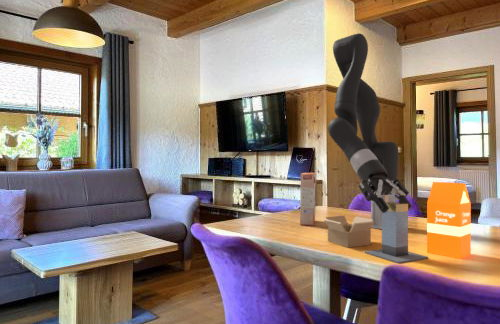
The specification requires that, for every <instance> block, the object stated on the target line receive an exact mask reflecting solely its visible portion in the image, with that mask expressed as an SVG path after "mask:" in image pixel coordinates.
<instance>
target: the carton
mask: <svg viewBox="0 0 500 324" xmlns="http://www.w3.org/2000/svg"><path fill="white" fill-rule="evenodd" d="M323 221H324V223H325V224H326V226H327V242H328V241H329V243H332V244H335V245H338V246H342V247H345V248H347V247H348V248H355V246H356V247H362V245H363V246H370V245H371V244H372V243H371V242H372V241H371V240H372V239H371V237H372V234H371V233H372V231H371V228H373V227H372V225H373V223H374V220H372V219H371V218H366V217H362V216H361V217H360V216H355V217H354V218H353V220H352V222H351V224H350V225H349V223H348V222H347V219H346V216H345V215H338V216H337V215H336V216H326V217H325V218H324V219H323Z"/></svg>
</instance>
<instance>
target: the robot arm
mask: <svg viewBox="0 0 500 324" xmlns="http://www.w3.org/2000/svg"><path fill="white" fill-rule="evenodd" d="M332 51H333V57H334V59H335V62H336V64H337V67H338V69H339V72H340V74H341V76H342V80H341V82H340V84H339V86H338V87H337V90H336V93H335V99H334V100H335V101H334V110H333V111H334V113H335V115H336V117H335V118H333V119H331V121H330V122H329V123H328V126H327V127H328V128H327V131H328V135H329V136H330V138H331V139H332V140H333V142H334V143H335V144H336V145H337V146H338V147H339V148H340V150H342V152H343V153H344V155H345V157H346V158H347V160H348V162H349V163H350V164H351V167H352V168H353V171H355V173H356V175H357V176H358V178H359V180H360V183H358V188H359V190H360V191H361V193H362V194H363V196H364V198H365V199H366V201H368V202H370V219H372V220H374V223H373V225H372V227H371V228H374V229H380V230H382V212H383V213H386V212H387V211H388V209H389V207H388V205H387V204H386V203H385V202H398V203H406V204H408V212H409V211H410V210H411V209H412V207H413V206H412V204H411V202H410V201H409V200H408V198H407V196H408V195H409V194H410V192H409V190H408V189H407V188H406V187H405V186H404V184H403V183H402V182H401V181H400V179H398V171H399V147H398V145H397V143H395V142H394V141H378V139H377V136H376V126H377V123H378V121H379V117H380V113H381V106H380V103H379V99H378V96H377V94H376V91H375V89H373V88H372V87H371V85H370V84H368V83H367V82H366V81H365V80H364V79H362V76H363V74H364V73H363V72H364V69H365V65H366V61H367V57H368V52H369V43H368V41H367V39H366V37H365V35H364V34H362V33H355V34H350V35H348V36H345V37H341V38H339V39H337V40H335V41H334V42H333V44H332ZM358 127H359V131H360V134H361V137H362V139H361V138H360V137H359V136H358Z"/></svg>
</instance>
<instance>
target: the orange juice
mask: <svg viewBox="0 0 500 324" xmlns="http://www.w3.org/2000/svg"><path fill="white" fill-rule="evenodd" d="M426 204H427V206H426V208H427V209H426V214H427V215H426V216H427V217H426V220H427V221H426V232H427V233H426V236H427V237H426V242H427V243H426V248H427V249H426V253H427V254H430V255H435V256H441V257H447V258H452V259H457V260H461V259H465V258H466V257H468V256H470V255H471V246H472V245H471V242H472V241H471V240H472V239H471V237H472V236H471V233H472V223H471V221H472V220H471V219H472V216H471V215H472V214H471V213H472V212H471V211H472V208H471V207H472V206H471V200H470V197H469V193H468V189H467V185H466V183H465V182H463V183H462V182H444V181H443V182H441V181H440V182H439V181H432V185H431V188H430V192H429V195H428V199H427V202H426Z"/></svg>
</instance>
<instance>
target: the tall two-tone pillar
mask: <svg viewBox="0 0 500 324" xmlns="http://www.w3.org/2000/svg"><path fill="white" fill-rule="evenodd" d="M385 203H386V204H387V205H388V207H389V209H388V211H387V212H386V213H383V212H382V229H381V249H382V253H384V254H388V255H391V256H394V257H399V256H405V255H408V252H409V211H408V204H406V203H399V201H396V202H385Z"/></svg>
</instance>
